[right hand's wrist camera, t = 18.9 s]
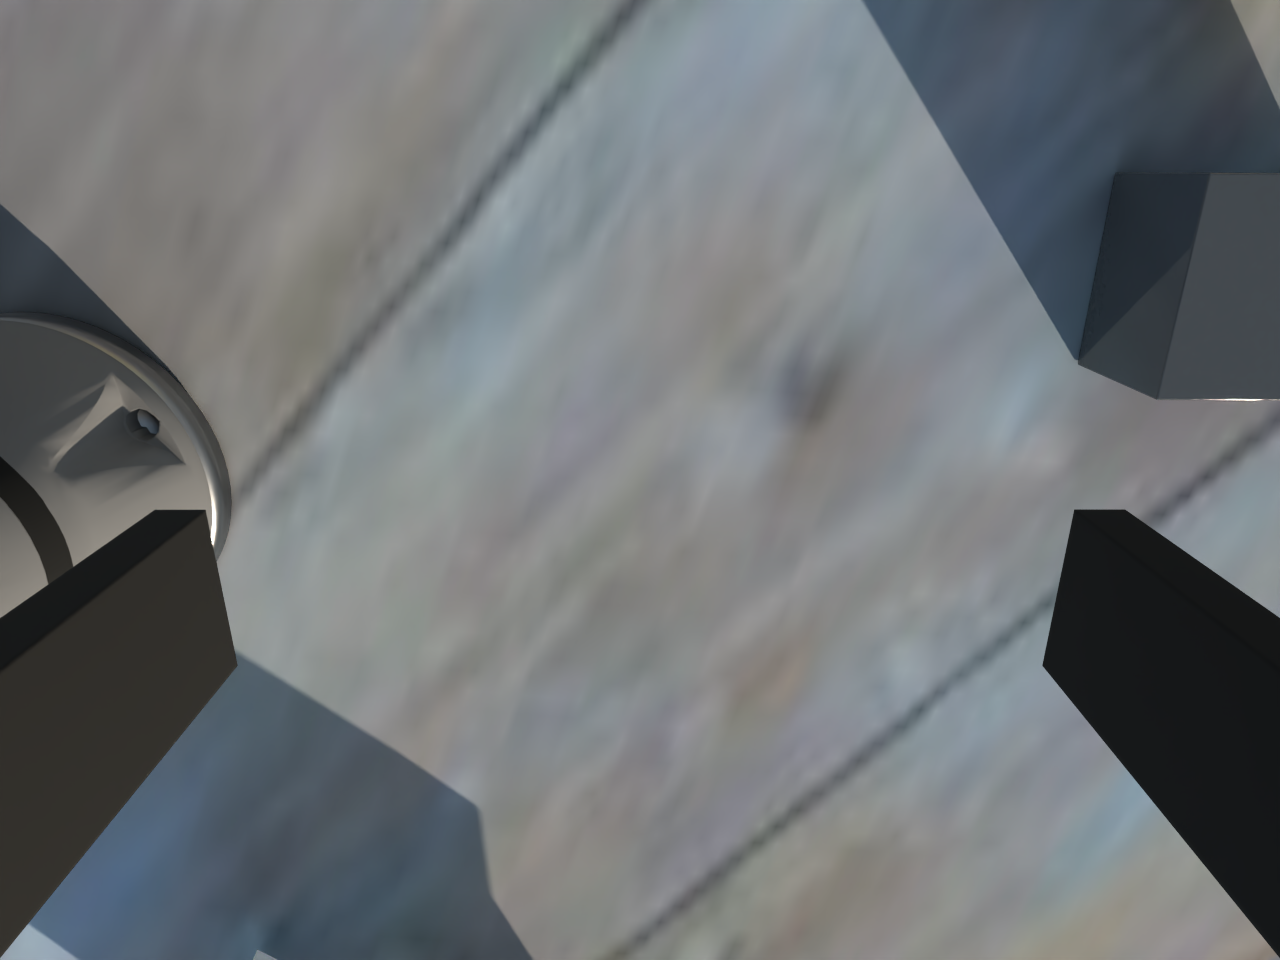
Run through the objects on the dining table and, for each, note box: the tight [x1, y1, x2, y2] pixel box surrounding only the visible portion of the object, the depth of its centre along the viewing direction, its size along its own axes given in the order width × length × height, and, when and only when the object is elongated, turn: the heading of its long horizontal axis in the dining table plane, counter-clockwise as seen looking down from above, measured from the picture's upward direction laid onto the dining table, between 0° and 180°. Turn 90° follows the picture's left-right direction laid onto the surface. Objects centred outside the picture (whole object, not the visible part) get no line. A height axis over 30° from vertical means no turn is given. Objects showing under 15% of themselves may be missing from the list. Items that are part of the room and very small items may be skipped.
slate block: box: [1078, 172, 1280, 400], centre depth 32 cm, size 8×8×6 cm
